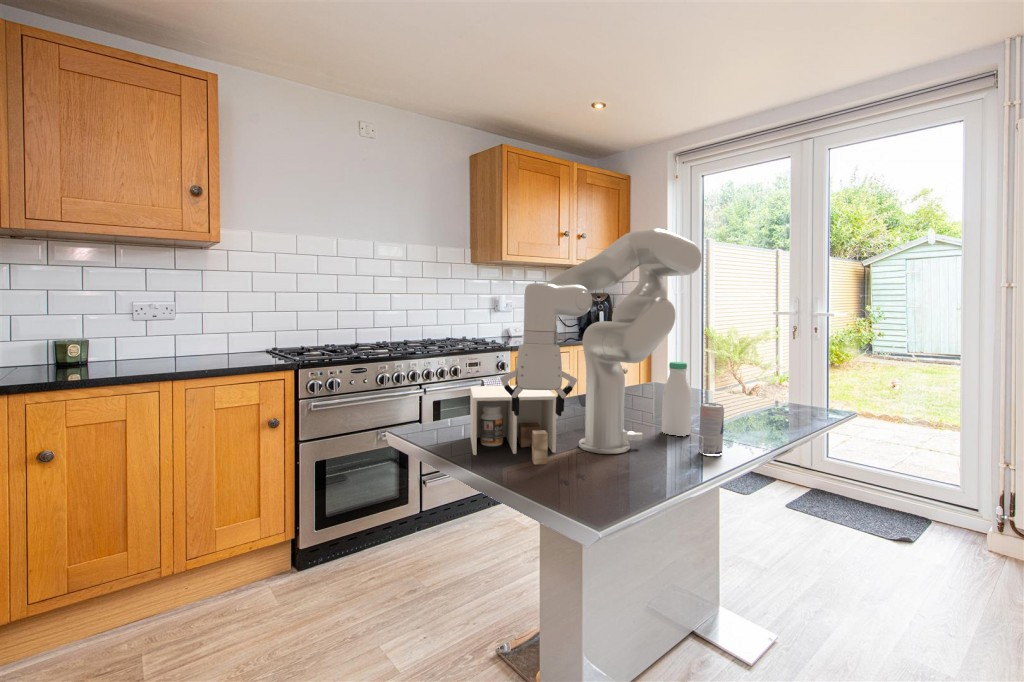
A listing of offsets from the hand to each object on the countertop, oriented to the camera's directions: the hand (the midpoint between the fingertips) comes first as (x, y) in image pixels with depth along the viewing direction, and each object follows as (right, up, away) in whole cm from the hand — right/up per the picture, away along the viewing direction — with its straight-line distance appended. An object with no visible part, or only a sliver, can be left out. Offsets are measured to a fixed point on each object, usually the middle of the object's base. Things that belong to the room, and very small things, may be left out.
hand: (537, 414), depth 116 cm
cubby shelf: (-6, -10, +16) cm, 19 cm away
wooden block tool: (0, -10, +9) cm, 14 cm away
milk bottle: (+40, -9, +27) cm, 49 cm away
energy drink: (+42, -11, +8) cm, 44 cm away
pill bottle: (-11, -10, +16) cm, 22 cm away
